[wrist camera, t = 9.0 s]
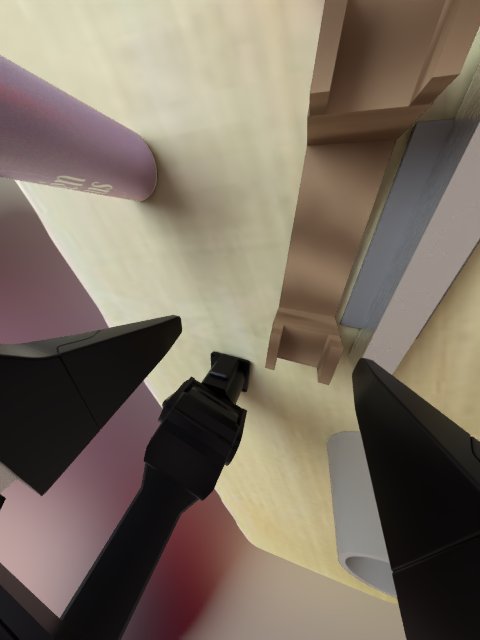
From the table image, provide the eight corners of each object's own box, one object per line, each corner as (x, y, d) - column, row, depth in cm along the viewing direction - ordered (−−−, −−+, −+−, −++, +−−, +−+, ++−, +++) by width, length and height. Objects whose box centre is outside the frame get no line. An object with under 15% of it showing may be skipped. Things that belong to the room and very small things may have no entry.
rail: (376, 363, 20) (387, 382, 18) (348, 357, 21) (353, 374, 18) (581, -2, 9) (694, -97, 6) (501, 13, 9) (573, -66, 7)
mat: (414, 337, 18) (416, 339, 18) (340, 323, 20) (340, 324, 19) (555, 114, 10) (564, 110, 10) (414, 124, 12) (417, 121, 12)
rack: (321, 349, 22) (326, 393, 16) (273, 338, 23) (262, 374, 18) (429, 33, 11) (584, -213, 5) (324, 53, 12) (340, -115, 6)
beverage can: (148, 124, 17) (-270, -159, 5) (167, 195, 20) (-77, 134, 7) (108, 144, 19) (-259, -16, 7) (129, 206, 22) (-112, 174, 9)
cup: (334, 424, 27) (351, 542, 17) (406, 444, 24) (480, 599, 14) (322, 455, 31) (329, 566, 21) (383, 476, 28) (426, 614, 18)
